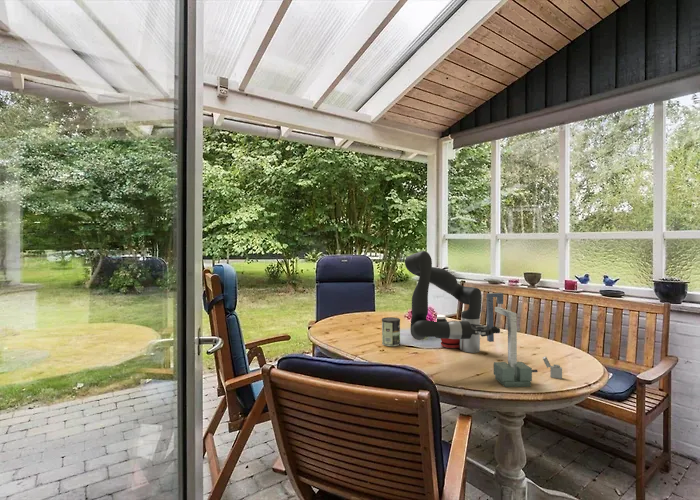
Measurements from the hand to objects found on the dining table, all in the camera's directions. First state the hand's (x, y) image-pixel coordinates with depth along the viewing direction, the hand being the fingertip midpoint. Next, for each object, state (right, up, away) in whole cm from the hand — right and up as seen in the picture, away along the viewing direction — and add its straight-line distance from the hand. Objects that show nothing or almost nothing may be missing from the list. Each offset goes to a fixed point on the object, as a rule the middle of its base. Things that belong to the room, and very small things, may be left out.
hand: (498, 329), depth 152 cm
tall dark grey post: (-1, -5, 0) cm, 5 cm away
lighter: (+21, -19, -4) cm, 29 cm away
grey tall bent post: (+4, -19, -5) cm, 20 cm away
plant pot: (-8, -19, +42) cm, 46 cm away
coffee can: (-40, -19, +48) cm, 65 cm away
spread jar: (-7, -19, +67) cm, 70 cm away
